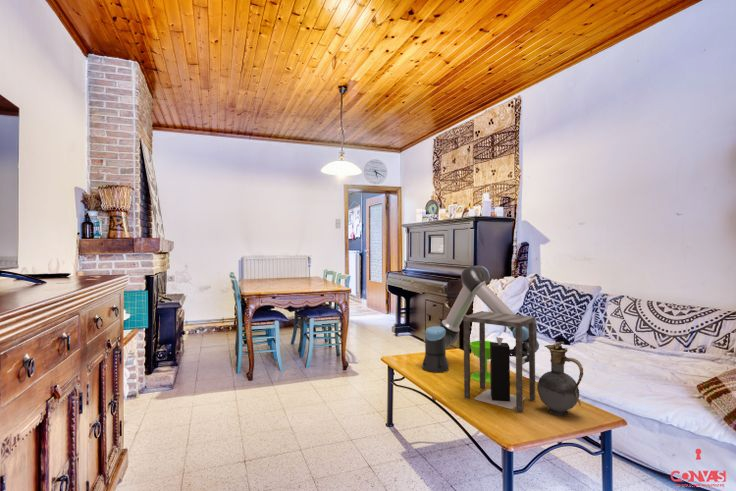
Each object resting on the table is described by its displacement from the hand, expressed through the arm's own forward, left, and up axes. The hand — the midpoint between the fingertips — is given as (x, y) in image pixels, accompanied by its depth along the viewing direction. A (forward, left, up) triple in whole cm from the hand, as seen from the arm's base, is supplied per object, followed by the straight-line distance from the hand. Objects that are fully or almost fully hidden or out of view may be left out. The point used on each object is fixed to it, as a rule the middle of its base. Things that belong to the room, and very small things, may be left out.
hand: (506, 359), depth 185 cm
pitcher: (+24, -11, -17) cm, 31 cm away
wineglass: (-15, +20, -17) cm, 30 cm away
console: (-2, -7, -17) cm, 18 cm away
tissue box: (-2, -7, -17) cm, 18 cm away
